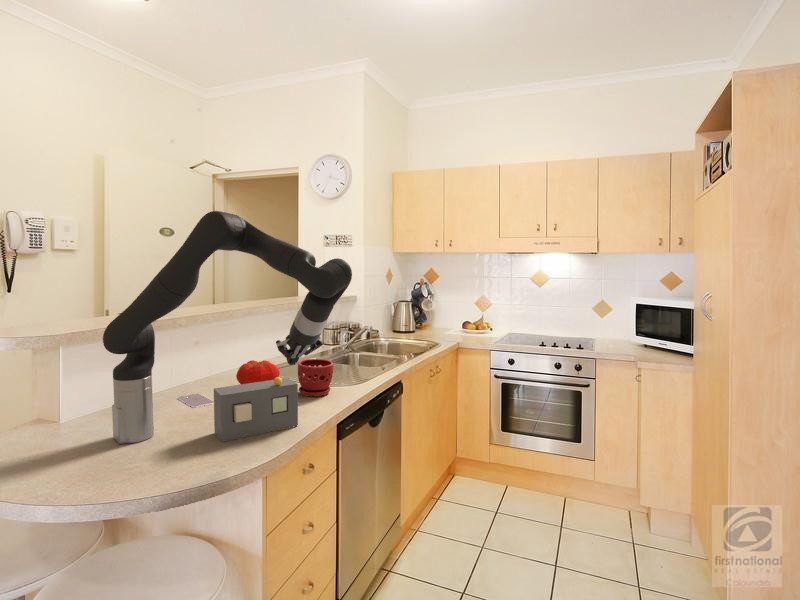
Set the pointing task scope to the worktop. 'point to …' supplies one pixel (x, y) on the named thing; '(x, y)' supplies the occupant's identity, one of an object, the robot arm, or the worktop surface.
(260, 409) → the keypad console
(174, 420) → the worktop surface
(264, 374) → the tomato
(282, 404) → the key sage
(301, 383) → the plant pot
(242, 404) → the block
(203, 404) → the mobile phone
